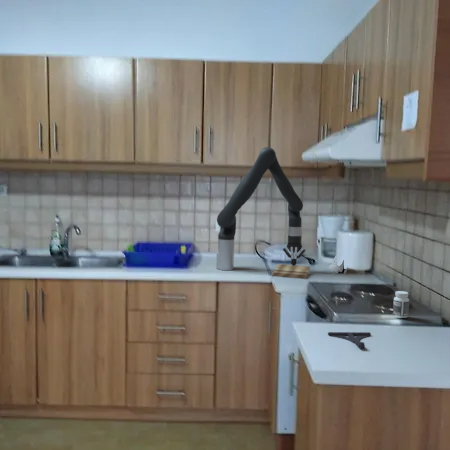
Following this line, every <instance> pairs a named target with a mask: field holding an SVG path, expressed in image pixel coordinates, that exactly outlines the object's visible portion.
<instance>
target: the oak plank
mask: <svg viewBox="0 0 450 450" xmlns="http://www.w3.org/2000/svg"><path fill="white" fill-rule="evenodd" d="M310 269H311V267H310V266H307V265H297V264H296V265H292V264H283V263H282V264H281V263H277V265H276V267H275V269H274V271H275V270H284V271H297V272H308V275H309V273H310Z"/></svg>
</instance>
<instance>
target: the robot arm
mask: <svg viewBox="0 0 450 450" xmlns="http://www.w3.org/2000/svg"><path fill="white" fill-rule="evenodd" d="M259 151H260V152H259V153H258V156H257V158H256V160H255V162H254V164H253V166H252V167H251V168H250V169H249V170H248V172H247V173H246V174H245V175H244V176H243V178H242V179H241V181H240V182H239V183H238V186H237V187H236V188H235V190H234V191H233V193H232V195H231V197H230V199H229V200H228V202H227V203H226V205H225V206H224V207H223V209H222V210H221V211H220V212H219V214H218V215H217V217H216V224H217V225H218V226H219V227H220V229H219V233H218V234H217V251H216V263H215V265H216V266H215V267H216V269H217V270H219V271H232V270H234V267H235V266H234V264H235V260H234V259H235V257H234V256H235V235H236V229H237V217H236V214H237V213H238V212H239V210H240V209H241V208H242V207H243V206H244V205H245V204H246V203H247V202H248V201H249V199H250V198H251V197H252V195H253V194H254V193H255V191H256V189H257V188H258V186H259V184H260V182H261V180H262V178H263V176H264V175H265V173H266V172H267V171H268V170H269V172H270V173H271V176H272V178H273V179H274V182H275V184H276V186H277V188H278V190H279V192H280V193H281V195H282V196H283V198H284V199H285V201H287V212H288V229H287V230H288V231H287V245H286V247H284V248H283V249H282V250H283V252H284V254H286V256H287V258H289V259H290V263H291V264H290V265H297V263H298V261H297V260H298V259H300V258H301V257H302V255H303V254H305V252H306V248H304V247H303V245H302V236H303V235H302V234H303V232H302V216H301V211H302V210H303V208H304V203H303V200H302V199H301V198H300V197H299V195H298V194H297V192H296V190H295V189H294V187H293V185H292V183H291V181H290V180H289V179H288V177H287V175H286V174H285V172H284V170H283V168H282V167H281V165H280V163H279V161H278V158H277V155H276V151H275V149H273V148H272V147H269V146H265V147H263V148H262V149H261V150H259ZM299 252H300V253H299Z"/></svg>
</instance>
